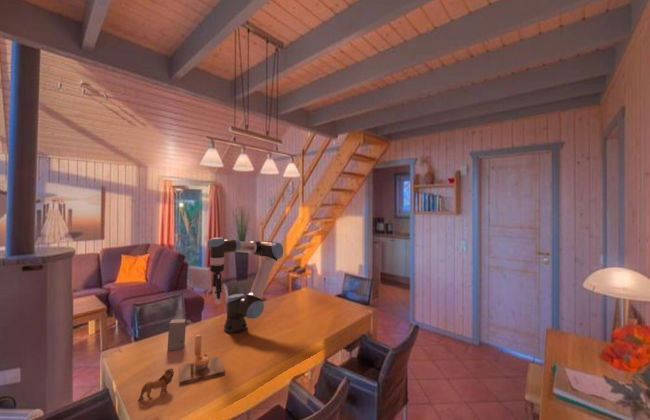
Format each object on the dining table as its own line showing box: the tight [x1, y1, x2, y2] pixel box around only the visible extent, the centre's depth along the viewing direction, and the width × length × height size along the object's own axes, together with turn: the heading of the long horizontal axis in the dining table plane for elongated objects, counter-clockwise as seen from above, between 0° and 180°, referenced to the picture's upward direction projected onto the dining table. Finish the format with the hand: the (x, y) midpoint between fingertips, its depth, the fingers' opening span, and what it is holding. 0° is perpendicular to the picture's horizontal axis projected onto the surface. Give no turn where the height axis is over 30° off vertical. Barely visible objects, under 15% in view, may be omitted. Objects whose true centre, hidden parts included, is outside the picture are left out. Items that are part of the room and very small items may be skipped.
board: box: [178, 353, 226, 386], centre depth 144 cm, size 20×16×6 cm
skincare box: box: [167, 318, 187, 352], centre depth 168 cm, size 8×7×16 cm
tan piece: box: [193, 334, 210, 366], centre depth 146 cm, size 13×7×11 cm, turn 37°
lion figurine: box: [137, 367, 175, 403], centre depth 125 cm, size 15×5×9 cm, turn 144°
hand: (216, 300), depth 166 cm, fingers open, 13 cm apart
